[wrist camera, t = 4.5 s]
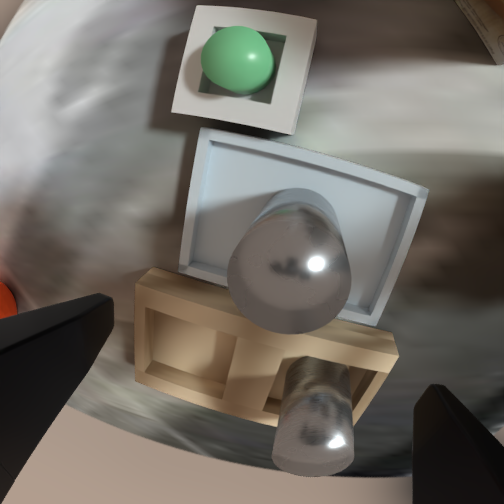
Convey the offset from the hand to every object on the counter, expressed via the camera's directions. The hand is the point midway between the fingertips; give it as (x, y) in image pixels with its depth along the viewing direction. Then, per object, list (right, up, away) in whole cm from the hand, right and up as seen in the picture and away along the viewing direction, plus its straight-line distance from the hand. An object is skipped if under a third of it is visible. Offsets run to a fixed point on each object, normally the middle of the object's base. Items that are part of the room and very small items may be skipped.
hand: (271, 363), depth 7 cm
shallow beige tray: (0, -5, +15) cm, 16 cm away
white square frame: (0, +13, +8) cm, 15 cm away
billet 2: (+4, -6, +14) cm, 16 cm away
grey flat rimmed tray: (+2, +4, +11) cm, 12 cm away
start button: (-1, +12, +6) cm, 14 cm away
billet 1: (+2, +4, +11) cm, 12 cm away
